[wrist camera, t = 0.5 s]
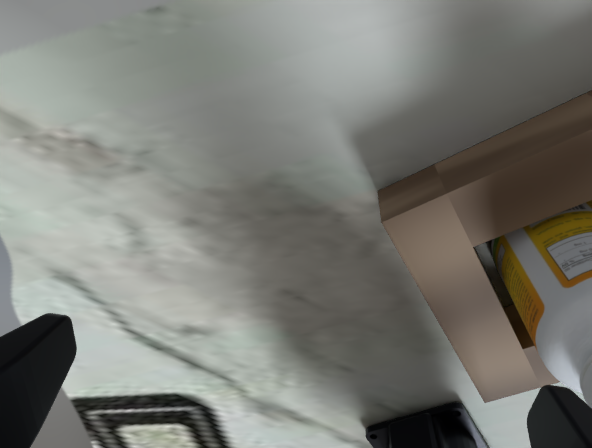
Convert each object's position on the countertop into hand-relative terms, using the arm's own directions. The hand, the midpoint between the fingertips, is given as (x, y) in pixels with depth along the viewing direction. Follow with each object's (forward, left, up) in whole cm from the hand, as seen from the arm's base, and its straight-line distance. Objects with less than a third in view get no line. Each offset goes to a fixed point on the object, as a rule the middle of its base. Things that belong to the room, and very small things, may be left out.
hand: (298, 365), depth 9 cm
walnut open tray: (-10, -7, -14) cm, 18 cm away
